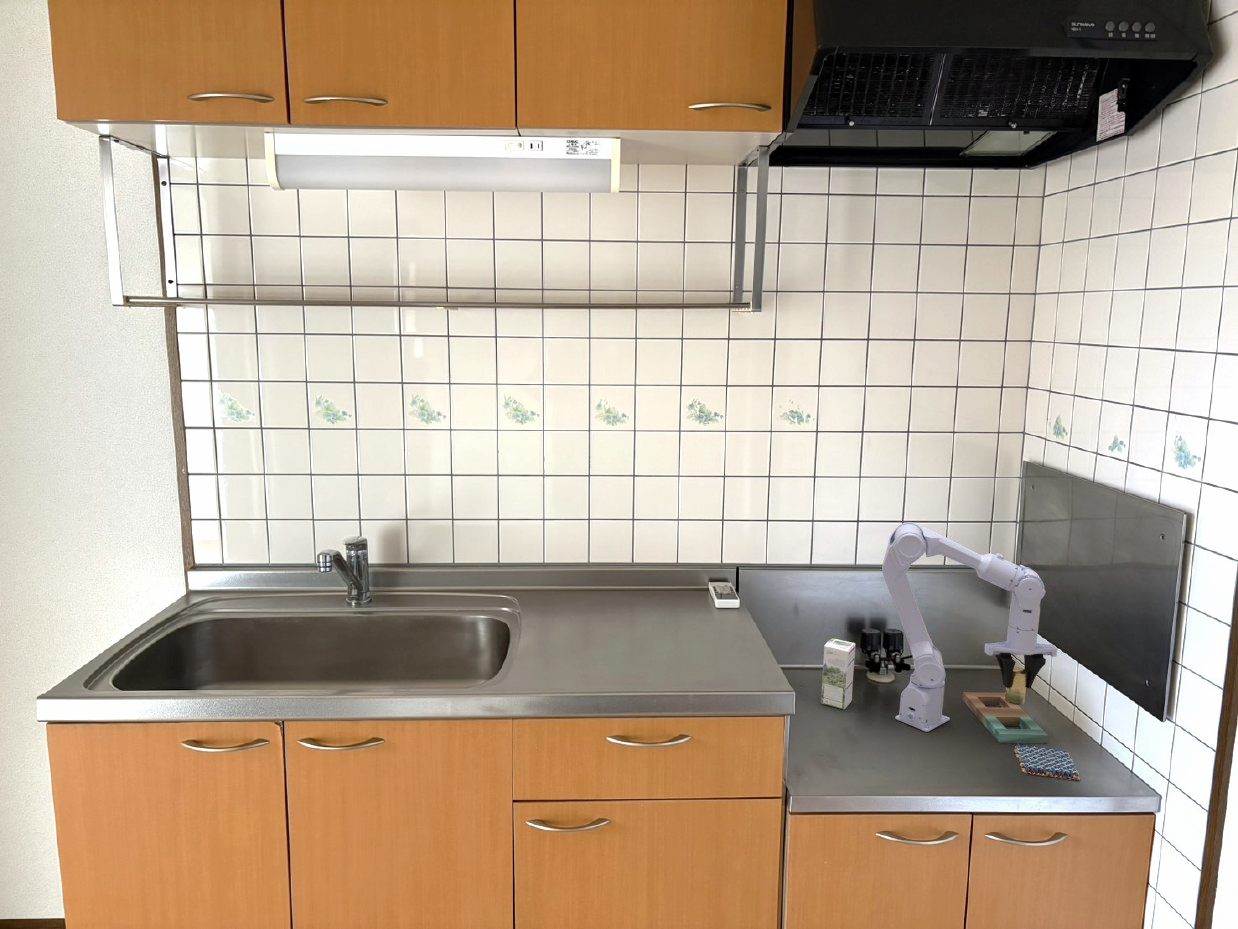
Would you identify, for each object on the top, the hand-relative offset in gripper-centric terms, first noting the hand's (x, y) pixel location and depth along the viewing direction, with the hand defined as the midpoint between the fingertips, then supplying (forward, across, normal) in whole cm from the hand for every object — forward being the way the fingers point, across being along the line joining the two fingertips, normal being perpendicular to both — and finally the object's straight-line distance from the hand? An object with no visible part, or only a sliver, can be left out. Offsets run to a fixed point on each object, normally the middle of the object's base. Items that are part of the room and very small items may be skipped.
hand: (1016, 686), depth 182 cm
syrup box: (+11, +35, -12) cm, 39 cm away
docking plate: (+10, 0, -5) cm, 11 cm away
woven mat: (+11, -1, +14) cm, 18 cm away
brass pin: (+3, 0, 0) cm, 4 cm away
